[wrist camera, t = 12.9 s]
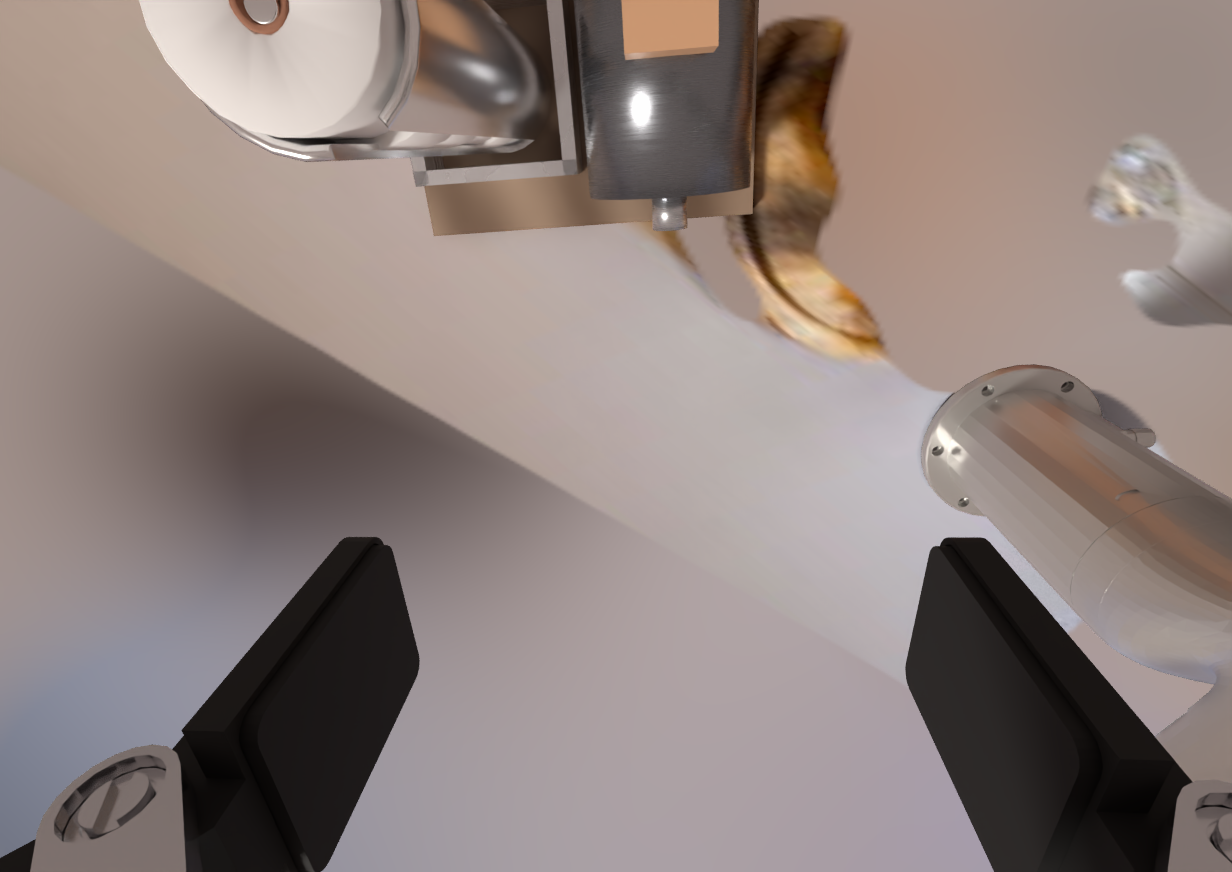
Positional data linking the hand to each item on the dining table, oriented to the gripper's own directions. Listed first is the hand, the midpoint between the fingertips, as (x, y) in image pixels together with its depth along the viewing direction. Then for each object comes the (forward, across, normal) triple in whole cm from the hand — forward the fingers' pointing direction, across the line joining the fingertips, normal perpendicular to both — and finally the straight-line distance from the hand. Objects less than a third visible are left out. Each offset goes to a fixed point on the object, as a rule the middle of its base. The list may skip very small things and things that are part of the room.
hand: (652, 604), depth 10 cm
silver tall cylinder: (+32, +10, -11) cm, 36 cm away
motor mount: (+34, +5, -11) cm, 36 cm away
